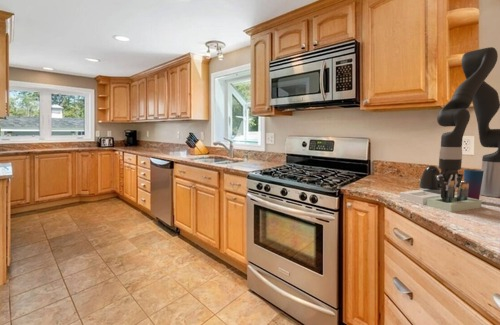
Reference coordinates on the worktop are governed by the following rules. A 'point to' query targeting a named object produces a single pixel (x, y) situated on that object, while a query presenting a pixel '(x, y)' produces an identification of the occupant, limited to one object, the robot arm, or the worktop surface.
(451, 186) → the cell
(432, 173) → the black tapered dome
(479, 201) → the trough rack
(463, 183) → the cell
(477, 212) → the worktop surface
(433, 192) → the battery tester
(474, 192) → the cup
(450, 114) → the robot arm
